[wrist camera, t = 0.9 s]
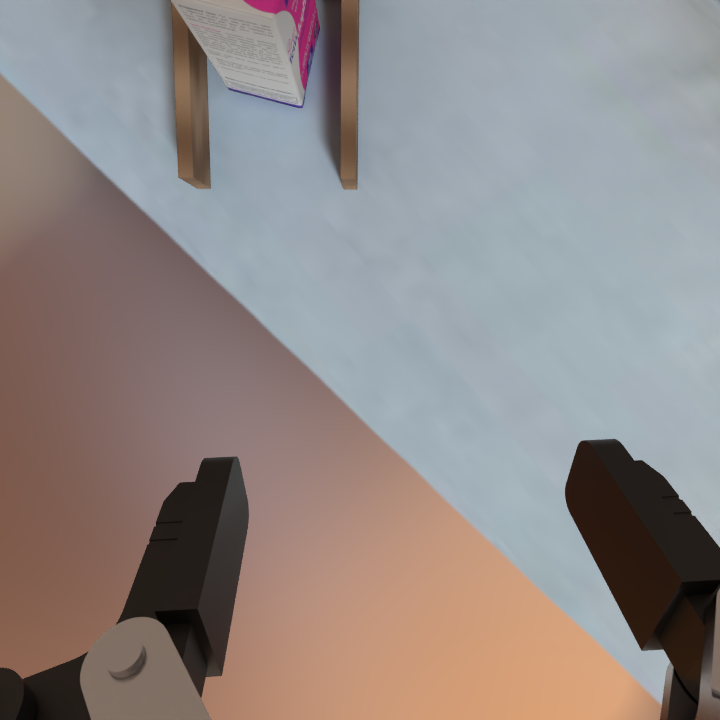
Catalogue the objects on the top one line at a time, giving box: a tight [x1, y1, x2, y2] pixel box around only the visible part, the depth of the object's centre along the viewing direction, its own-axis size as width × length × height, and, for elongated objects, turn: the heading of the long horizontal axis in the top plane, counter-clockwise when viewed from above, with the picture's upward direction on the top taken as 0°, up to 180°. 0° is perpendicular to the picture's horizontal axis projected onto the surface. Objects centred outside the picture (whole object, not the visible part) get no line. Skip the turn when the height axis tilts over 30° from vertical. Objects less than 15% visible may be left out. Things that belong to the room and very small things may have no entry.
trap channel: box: [172, 0, 359, 189], centre depth 33 cm, size 18×12×4 cm, turn 179°
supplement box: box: [171, 0, 320, 108], centre depth 29 cm, size 6×6×12 cm
